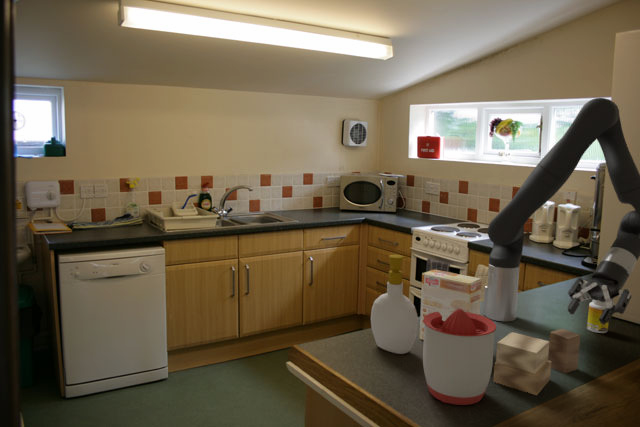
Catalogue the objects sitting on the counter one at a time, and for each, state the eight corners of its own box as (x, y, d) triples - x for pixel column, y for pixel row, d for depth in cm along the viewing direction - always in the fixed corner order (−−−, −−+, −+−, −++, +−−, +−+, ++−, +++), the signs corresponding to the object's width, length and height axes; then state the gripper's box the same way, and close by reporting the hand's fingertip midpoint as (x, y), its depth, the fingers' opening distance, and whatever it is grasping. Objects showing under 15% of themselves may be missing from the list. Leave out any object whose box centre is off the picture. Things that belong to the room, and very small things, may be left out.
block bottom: (493, 383, 127) (494, 363, 126) (508, 369, 134) (509, 350, 134) (536, 396, 120) (538, 375, 120) (549, 381, 128) (551, 361, 127)
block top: (496, 362, 126) (497, 342, 125) (510, 351, 133) (511, 332, 132) (534, 374, 120) (536, 353, 120) (547, 361, 127) (549, 341, 126)
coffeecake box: (479, 346, 147) (483, 278, 144) (466, 354, 142) (470, 283, 139) (431, 332, 158) (434, 268, 155) (418, 339, 152) (421, 272, 149)
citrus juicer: (476, 374, 130) (480, 295, 127) (502, 411, 113) (508, 321, 110) (412, 374, 130) (415, 295, 127) (429, 411, 113) (433, 321, 110)
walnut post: (547, 365, 136) (550, 332, 134) (559, 361, 138) (562, 328, 137) (565, 373, 132) (568, 338, 130) (577, 369, 134) (580, 335, 133)
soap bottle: (425, 351, 144) (429, 257, 140) (406, 361, 137) (410, 262, 133) (382, 337, 153) (385, 248, 149) (362, 346, 147) (365, 253, 143)
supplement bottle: (601, 335, 157) (604, 301, 156) (583, 329, 162) (586, 296, 160) (611, 331, 160) (614, 298, 159) (593, 325, 165) (596, 293, 163)
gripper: (584, 254, 146) (554, 301, 141) (637, 265, 134) (607, 317, 129) (594, 271, 149) (565, 317, 145) (647, 283, 137) (617, 334, 133)
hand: (585, 317), depth 137 cm, fingers open, 8 cm apart
